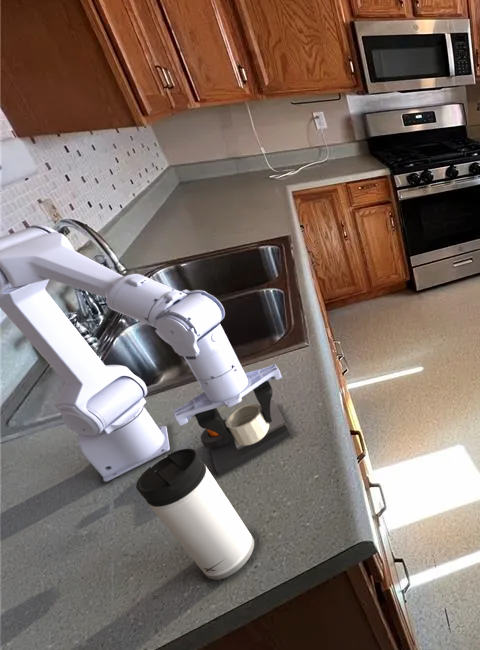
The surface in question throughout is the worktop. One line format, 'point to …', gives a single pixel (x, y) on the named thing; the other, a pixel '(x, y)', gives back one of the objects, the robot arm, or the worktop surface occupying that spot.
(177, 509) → the travel mug
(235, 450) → the scale
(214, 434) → the tare button
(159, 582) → the worktop surface
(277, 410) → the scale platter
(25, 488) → the worktop surface
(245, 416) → the cream hollow cylinder
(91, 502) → the worktop surface
